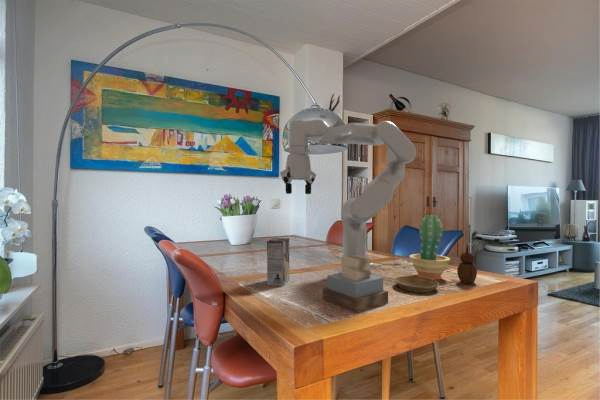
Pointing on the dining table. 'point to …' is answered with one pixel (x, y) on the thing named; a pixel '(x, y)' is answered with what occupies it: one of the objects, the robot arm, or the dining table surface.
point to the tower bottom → (355, 300)
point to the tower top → (354, 285)
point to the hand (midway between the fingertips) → (298, 193)
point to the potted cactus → (430, 250)
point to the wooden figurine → (467, 268)
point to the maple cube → (356, 267)
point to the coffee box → (277, 261)
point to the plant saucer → (416, 284)
